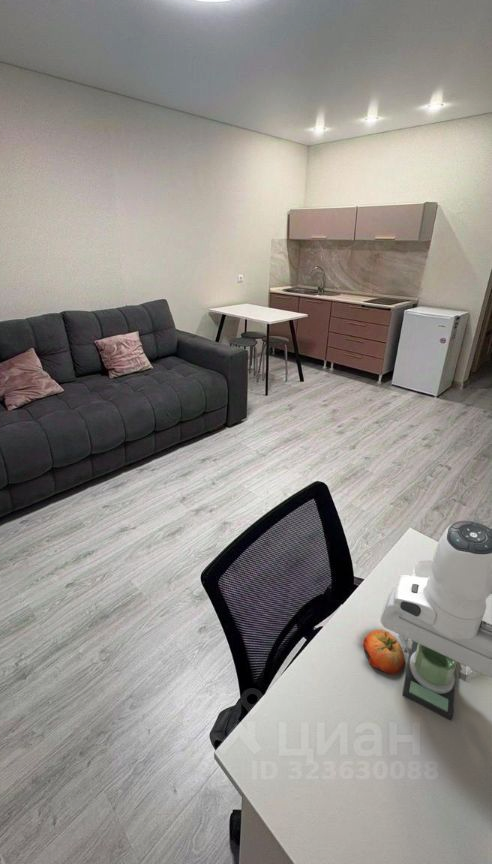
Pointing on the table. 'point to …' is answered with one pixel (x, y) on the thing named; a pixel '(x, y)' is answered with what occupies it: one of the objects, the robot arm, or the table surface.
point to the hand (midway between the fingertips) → (434, 663)
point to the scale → (428, 689)
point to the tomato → (384, 651)
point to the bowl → (434, 665)
